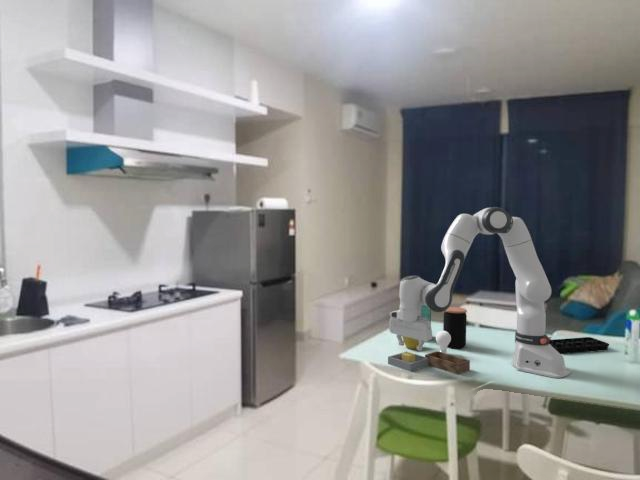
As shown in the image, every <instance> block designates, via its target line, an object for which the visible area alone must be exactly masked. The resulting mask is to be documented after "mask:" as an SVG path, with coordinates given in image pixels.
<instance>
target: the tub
mask: <svg viewBox="0 0 640 480" xmlns="http://www.w3.org/2000/svg"><path fill="white" fill-rule="evenodd" d="M406 352H408V351H404V352H403V351H402V352H399V353H397V354H393V355H390V356H387V364H388V365H390V366H393V367H396V368H399V369H402V370H405V371H408V372H412V371H416V370H419V369H423V368H425V367H428V366H429V358H426V357H425V355H424V356H423V355H420V354H417V353H413V352H412V353H413V354H416V356H415V362H413V363H408V362H405V361H402V354H403V353H406Z"/></svg>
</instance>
